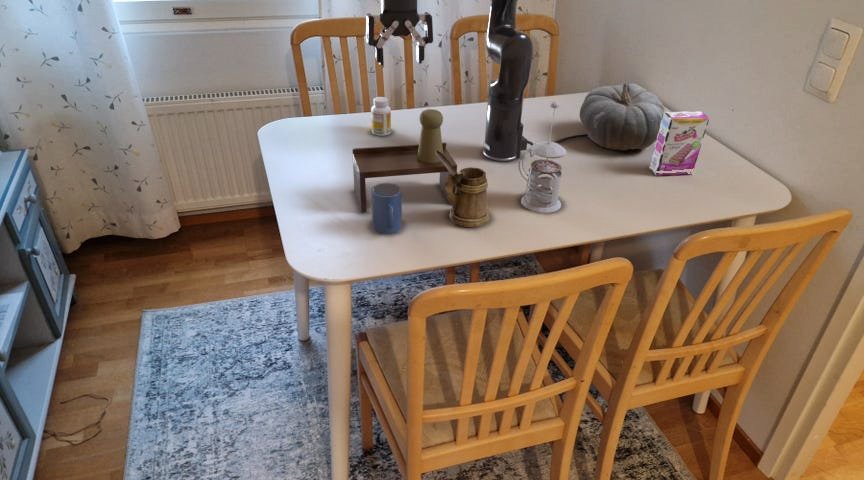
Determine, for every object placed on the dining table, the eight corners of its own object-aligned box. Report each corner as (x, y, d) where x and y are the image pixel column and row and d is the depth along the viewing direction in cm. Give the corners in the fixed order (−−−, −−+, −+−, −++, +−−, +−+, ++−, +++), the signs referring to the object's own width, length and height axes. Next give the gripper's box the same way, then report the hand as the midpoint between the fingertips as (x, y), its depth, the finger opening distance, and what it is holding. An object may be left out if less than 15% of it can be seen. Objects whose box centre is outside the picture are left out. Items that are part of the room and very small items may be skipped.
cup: (398, 217, 142) (398, 181, 137) (406, 237, 136) (406, 199, 130) (369, 220, 140) (368, 183, 135) (376, 240, 134) (375, 202, 129)
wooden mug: (424, 216, 143) (426, 141, 133) (476, 205, 149) (482, 133, 139) (442, 235, 137) (445, 158, 127) (496, 222, 143) (503, 148, 133)
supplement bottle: (386, 127, 184) (385, 94, 178) (394, 134, 180) (393, 101, 175) (368, 130, 181) (367, 97, 176) (376, 137, 178) (375, 103, 172)
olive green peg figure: (439, 164, 143) (441, 117, 137) (413, 160, 144) (414, 114, 137) (446, 154, 148) (448, 108, 142) (421, 150, 149) (422, 104, 142)
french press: (549, 217, 147) (565, 113, 133) (506, 201, 152) (517, 100, 138) (568, 201, 154) (584, 101, 140) (526, 187, 159) (538, 88, 145)
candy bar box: (656, 177, 169) (671, 118, 160) (648, 168, 173) (662, 110, 164) (693, 175, 172) (710, 117, 162) (684, 167, 175) (700, 110, 166)
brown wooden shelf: (443, 184, 157) (445, 142, 150) (455, 204, 149) (457, 160, 143) (354, 192, 150) (352, 148, 144) (361, 212, 143) (359, 167, 136)
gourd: (635, 113, 200) (647, 62, 188) (677, 158, 184) (693, 105, 172) (563, 126, 194) (570, 74, 182) (600, 173, 178) (611, 120, 165)
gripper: (367, -11, 126) (371, 70, 135) (437, -12, 130) (436, 67, 139) (361, -19, 131) (365, 59, 141) (427, -20, 136) (427, 56, 145)
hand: (400, 63), depth 140 cm, fingers open, 8 cm apart
